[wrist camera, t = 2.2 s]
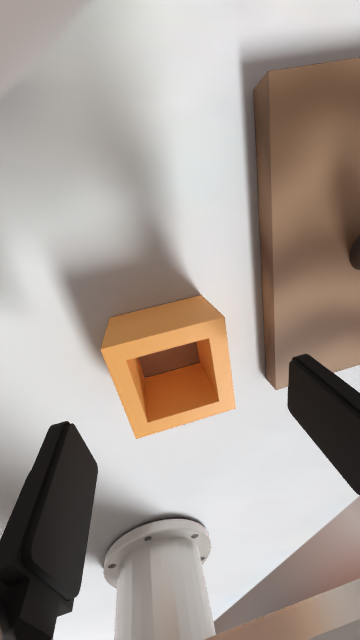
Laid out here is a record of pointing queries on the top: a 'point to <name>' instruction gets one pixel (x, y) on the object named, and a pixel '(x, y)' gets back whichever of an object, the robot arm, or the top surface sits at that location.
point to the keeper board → (309, 214)
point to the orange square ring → (177, 385)
